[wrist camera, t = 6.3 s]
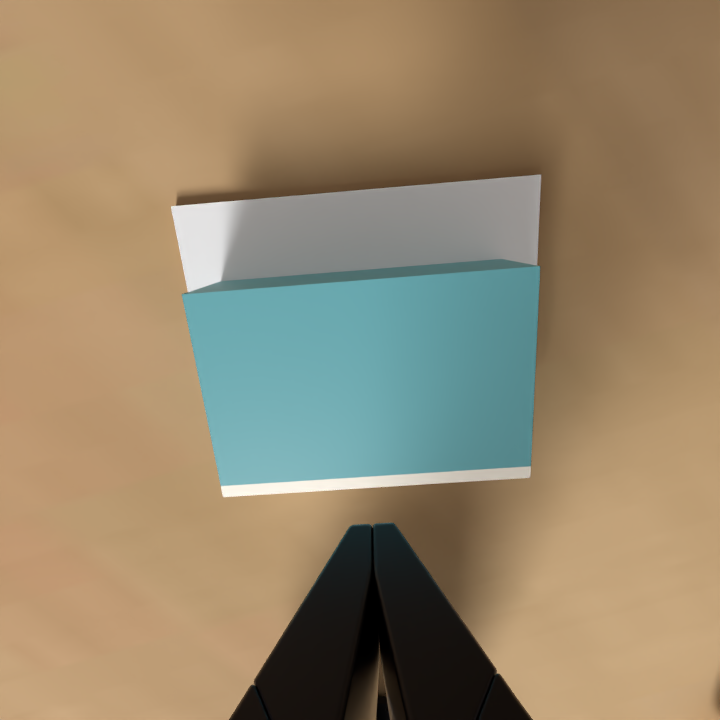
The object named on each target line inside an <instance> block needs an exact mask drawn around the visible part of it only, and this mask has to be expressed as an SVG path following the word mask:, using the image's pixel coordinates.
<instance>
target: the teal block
mask: <svg viewBox="0 0 720 720" xmlns="http://www.w3.org/2000/svg"><path fill="white" fill-rule="evenodd" d="M539 282H540V266H537V265H531V264H526V263H521V262H516V261H510V260H505V259H494V260H481V261H469V262H456V263H444V264H431V265H419V266H406V267H393V268H381V269H368V270H356V271H343V272H331V273H318V274H305V275H293V276H280V277H268V278H255V279H243V280H230V281H220V282H217V283H214V284H211V285H208V286H205V287H202V288H199V289H196V290H193V291H190V292H187V293H185V294H182V298H183V303H184V307H185V312H186V317H187V322H188V327H189V332H190V337H191V342H192V347H193V352H194V357H195V361H196V366H197V371H198V376H199V381H200V386H201V391H202V396H203V401H204V406H205V410H206V415H207V420H208V425H209V430H210V435H211V440H212V445H213V450H214V455H215V460H216V464H217V469H218V474H219V479H220V484H221V489H222V494H223V497H232V496H248V495H264V494H280V493H296V492H311V491H327V490H343V489H359V488H375V487H391V486H407V485H423V484H439V483H454V482H470V481H486V480H502V479H518V478H530V473H531V452H532V431H533V409H534V388H535V367H536V346H537V324H538V303H539Z"/></svg>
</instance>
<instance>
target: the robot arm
mask: <svg viewBox="0 0 720 720" xmlns="http://www.w3.org/2000/svg"><path fill="white" fill-rule="evenodd" d="M379 643H380V654H379ZM380 655H381V663H382V671H383V677H384V684H385V690H386V696H384V697H378V681H379V659H380ZM229 720H533V719H532V718H531V717H530V715H529V714H528V713H527V711H526V710H525V708H524V707H523V706H522V704H521V703H520V702H519V700H518V699H517V698H516V696H515V695H514V693H513V692H512V690H511V689H510V688H509V686H508V685H507V683H506V682H505V680H504V679H503V678H502V676H501V675H500V674H497V670H496V668H495V666H494V665H493V664H492V662H491V661H490V659H489V658H488V656H487V655H486V654H485V652H484V651H483V649H482V648H481V646H480V645H479V644H478V642H477V641H476V639H475V638H474V636H473V635H472V634H471V632H470V631H469V629H468V628H467V626H466V625H465V624H464V622H463V621H462V619H461V618H460V616H459V615H458V613H457V612H456V611H455V609H454V608H453V606H452V605H451V603H450V602H449V601H448V599H447V598H446V596H445V595H444V593H443V592H442V591H441V589H440V588H439V586H438V585H437V583H436V582H435V581H434V579H433V578H432V576H431V575H430V573H429V572H428V571H427V569H426V568H425V566H424V565H423V563H422V562H421V560H420V559H419V558H418V556H417V555H416V553H415V552H414V550H413V549H412V548H411V546H410V545H409V543H408V542H407V540H406V539H405V538H404V536H403V535H402V533H401V532H400V530H399V529H398V528H397V526H396V525H395V524H394V523H377V524H374V525H373V528H372V526H371V525H370V524H360V525H352V526H350V527H349V529H348V530H347V532H346V533H345V535H344V537H343V538H342V540H341V542H340V543H339V545H338V546H337V548H336V550H335V551H334V553H333V554H332V556H331V558H330V559H329V561H328V562H327V564H326V566H325V567H324V569H323V570H322V572H321V574H320V575H319V577H318V578H317V580H316V582H315V583H314V585H313V586H312V588H311V590H310V591H309V593H308V594H307V596H306V598H305V599H304V601H303V603H302V604H301V606H300V607H299V609H298V611H297V612H296V614H295V615H294V617H293V619H292V620H291V622H290V623H289V625H288V627H287V628H286V630H285V631H284V633H283V635H282V636H281V638H280V639H279V641H278V643H277V644H276V646H275V647H274V649H273V651H272V652H271V654H270V655H269V657H268V659H267V660H266V662H265V663H264V665H263V667H262V668H261V670H260V672H259V673H258V675H257V676H256V678H255V680H254V685H251V686H250V687H249V689H248V690H247V692H246V694H245V695H244V697H243V698H242V700H241V702H240V703H239V705H238V706H237V708H236V710H235V711H234V713H233V714H232V716H231V717H230V719H229Z"/></svg>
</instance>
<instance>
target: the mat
mask: <svg viewBox="0 0 720 720" xmlns="http://www.w3.org/2000/svg"><path fill="white" fill-rule="evenodd" d="M540 190H541V175H530V176H518V177H506V178H495V179H483V180H471V181H460V182H448V183H437V184H425V185H413V186H402V187H390V188H379V189H367V190H355V191H344V192H332V193H320V194H309V195H297V196H286V197H274V198H262V199H251V200H239V201H227V202H216V203H204V204H193V205H181V206H171V209H172V214H173V219H174V224H175V229H176V234H177V239H178V244H179V249H180V254H181V259H182V264H183V269H184V274H185V279H186V284H187V289H188V292H190V291H193V290H196V289H199V288H202V287H205V286H208V285H211V284H214V283H217V282H220V281H230V280H243V279H255V278H268V277H280V276H293V275H305V274H318V273H331V272H343V271H356V270H368V269H381V268H393V267H406V266H419V265H431V264H444V263H456V262H469V261H481V260H494V259H505V260H510V261H516V262H521V263H526V264H531V265H537V257H538V235H539V212H540Z"/></svg>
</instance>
